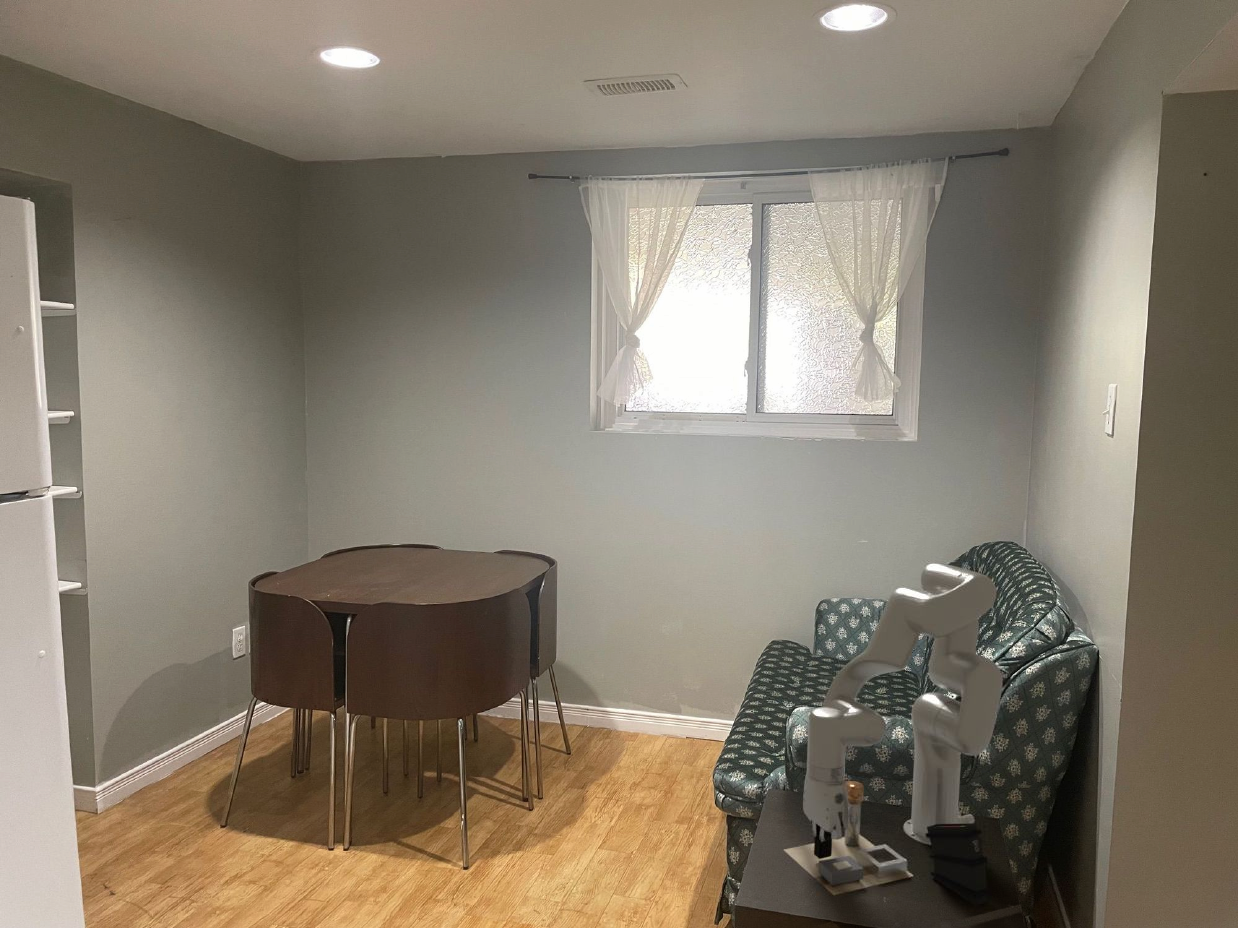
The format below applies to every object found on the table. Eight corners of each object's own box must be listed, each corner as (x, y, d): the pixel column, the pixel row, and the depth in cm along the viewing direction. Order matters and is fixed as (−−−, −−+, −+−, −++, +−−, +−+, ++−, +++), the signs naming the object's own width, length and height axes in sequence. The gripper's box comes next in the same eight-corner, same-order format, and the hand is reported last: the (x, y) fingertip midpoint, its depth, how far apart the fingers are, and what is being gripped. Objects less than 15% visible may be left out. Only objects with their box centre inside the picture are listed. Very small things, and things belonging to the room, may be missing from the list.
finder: (848, 869, 190) (849, 853, 190) (862, 882, 186) (863, 866, 185) (818, 875, 188) (818, 859, 188) (831, 888, 183) (832, 872, 183)
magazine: (987, 911, 175) (964, 826, 180) (938, 907, 186) (917, 827, 191) (1002, 906, 177) (978, 822, 181) (952, 902, 188) (931, 823, 192)
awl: (853, 837, 203) (856, 779, 202) (864, 846, 200) (867, 787, 198) (838, 840, 202) (841, 782, 200) (849, 849, 198) (852, 790, 197)
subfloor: (858, 837, 205) (858, 833, 205) (913, 880, 189) (913, 875, 188) (783, 854, 198) (783, 849, 198) (833, 899, 181) (833, 894, 181)
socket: (884, 855, 196) (885, 843, 196) (906, 872, 190) (907, 860, 189) (856, 861, 193) (857, 850, 193) (878, 879, 187) (878, 867, 187)
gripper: (863, 782, 186) (860, 870, 188) (819, 752, 200) (817, 835, 202) (831, 788, 183) (828, 877, 185) (789, 758, 197) (787, 841, 199)
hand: (822, 855), depth 193 cm, fingers closed
